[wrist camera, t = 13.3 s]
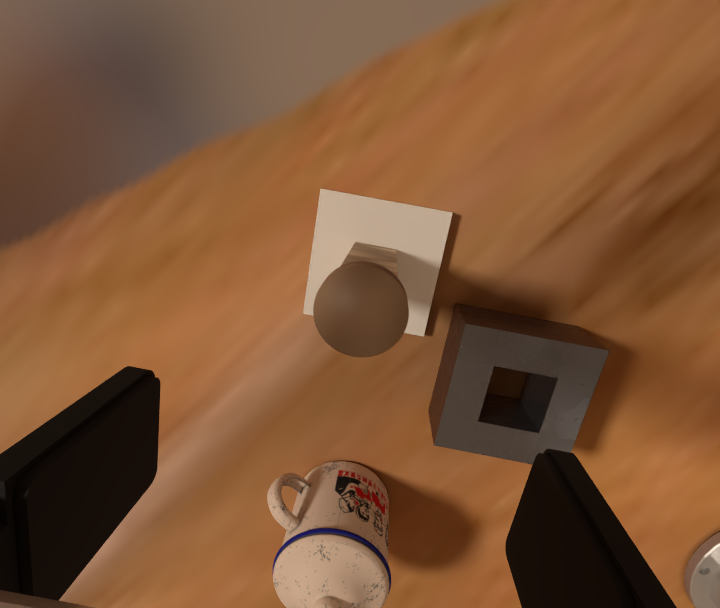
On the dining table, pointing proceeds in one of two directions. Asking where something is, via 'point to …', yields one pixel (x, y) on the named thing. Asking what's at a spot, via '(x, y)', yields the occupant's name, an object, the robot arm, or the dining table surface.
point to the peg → (362, 303)
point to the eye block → (540, 392)
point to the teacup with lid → (332, 538)
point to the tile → (386, 229)
